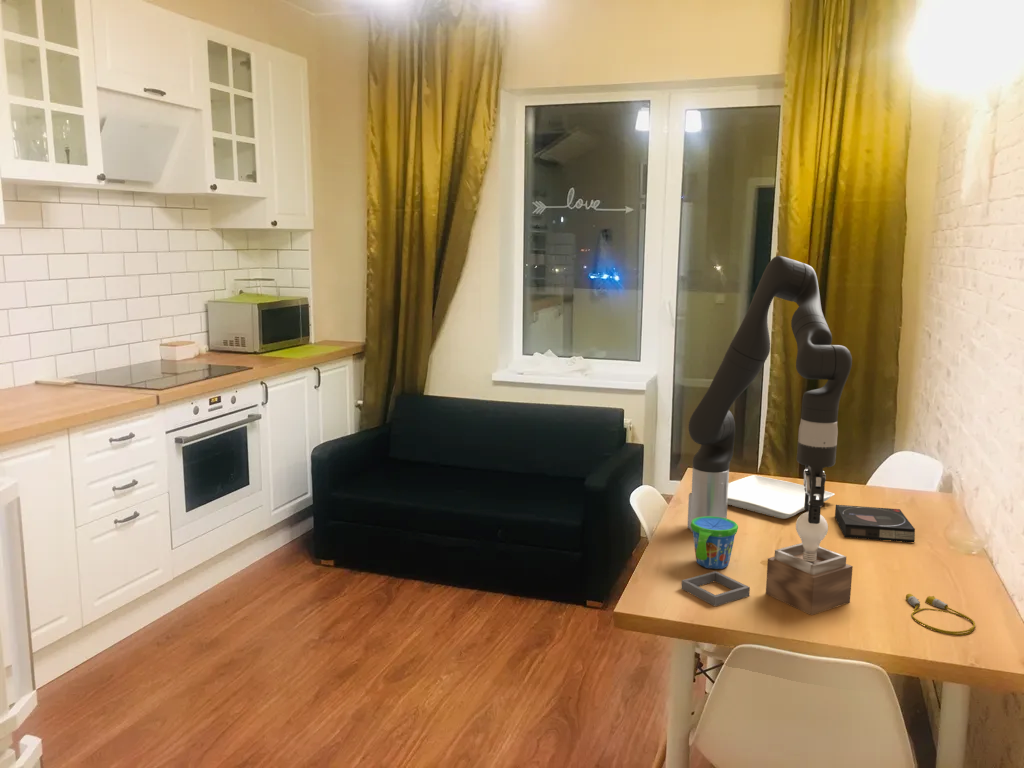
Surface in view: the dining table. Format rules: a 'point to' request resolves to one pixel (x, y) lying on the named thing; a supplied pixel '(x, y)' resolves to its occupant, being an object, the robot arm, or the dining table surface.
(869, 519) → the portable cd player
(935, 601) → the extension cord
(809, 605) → the walnut stand
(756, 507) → the square plate
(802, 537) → the lightbulb
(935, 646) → the dining table surface
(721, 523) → the snack cup
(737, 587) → the frame
